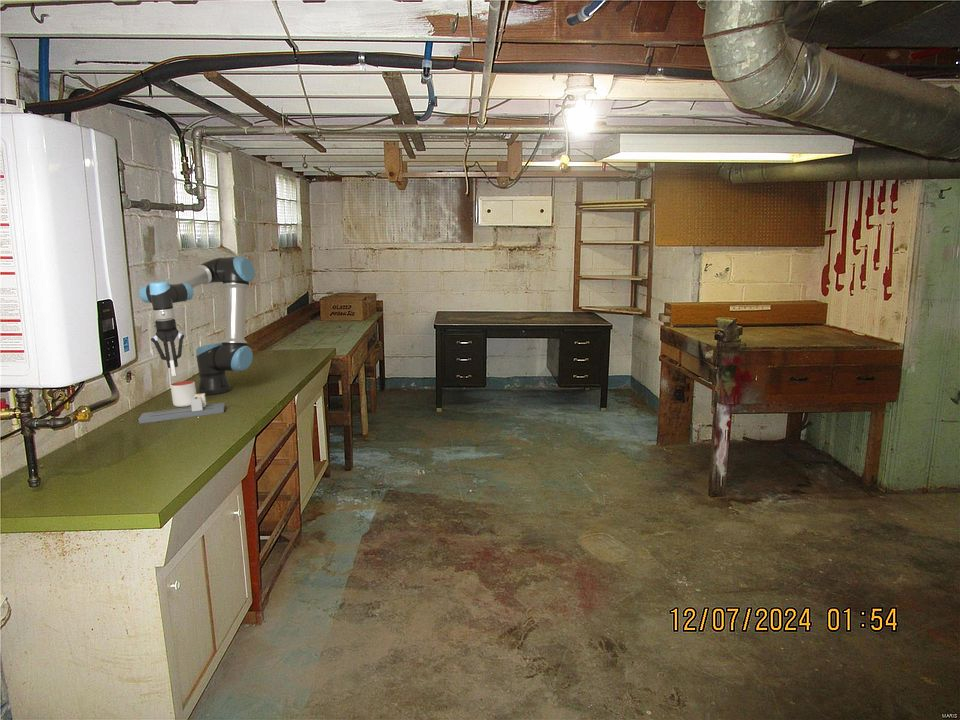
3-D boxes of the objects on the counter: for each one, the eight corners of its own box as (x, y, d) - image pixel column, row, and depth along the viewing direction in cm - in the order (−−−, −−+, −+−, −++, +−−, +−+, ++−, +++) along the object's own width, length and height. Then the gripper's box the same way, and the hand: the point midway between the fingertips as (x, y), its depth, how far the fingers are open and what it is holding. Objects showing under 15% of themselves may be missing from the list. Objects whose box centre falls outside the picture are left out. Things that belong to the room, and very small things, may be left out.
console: (143, 417, 267) (142, 413, 267) (224, 407, 277) (224, 402, 277) (139, 423, 258) (138, 418, 258) (223, 412, 268) (223, 407, 268)
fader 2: (192, 409, 268) (191, 397, 267) (203, 408, 269) (201, 396, 268) (192, 411, 264) (190, 399, 263) (202, 410, 265) (200, 398, 264)
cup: (176, 409, 279) (172, 386, 277) (171, 405, 287) (168, 383, 285) (200, 404, 285) (197, 382, 283) (194, 400, 293) (191, 379, 291)
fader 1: (196, 405, 273) (194, 394, 273) (206, 404, 275) (204, 392, 274) (195, 407, 270) (193, 396, 269) (205, 406, 271) (204, 394, 270)
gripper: (146, 322, 257) (156, 379, 262) (181, 318, 261) (190, 374, 266) (148, 320, 264) (158, 375, 269) (183, 316, 268) (192, 371, 273)
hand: (174, 375), depth 267 cm, fingers closed
